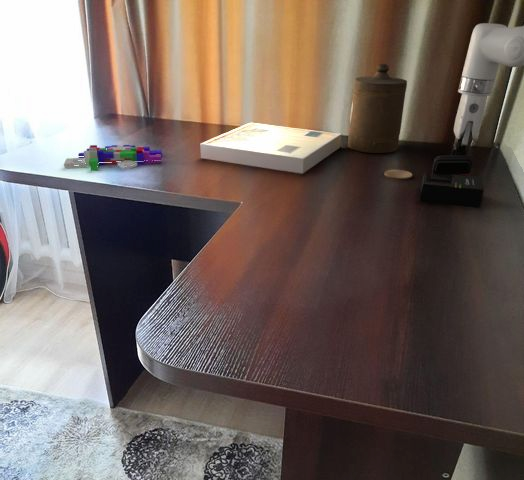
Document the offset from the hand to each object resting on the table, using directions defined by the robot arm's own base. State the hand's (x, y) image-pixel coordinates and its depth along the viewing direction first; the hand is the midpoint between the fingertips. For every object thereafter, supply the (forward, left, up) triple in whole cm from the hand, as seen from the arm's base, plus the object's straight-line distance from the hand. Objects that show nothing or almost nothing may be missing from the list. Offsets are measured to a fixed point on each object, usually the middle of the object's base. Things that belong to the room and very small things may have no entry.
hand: (455, 165), depth 129 cm
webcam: (+1, +4, -3) cm, 5 cm away
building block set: (+90, +7, -3) cm, 90 cm away
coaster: (+14, +4, -2) cm, 15 cm away
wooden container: (+21, -23, -3) cm, 32 cm away
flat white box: (+49, -10, -3) cm, 50 cm away
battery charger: (+3, +19, -3) cm, 19 cm away
